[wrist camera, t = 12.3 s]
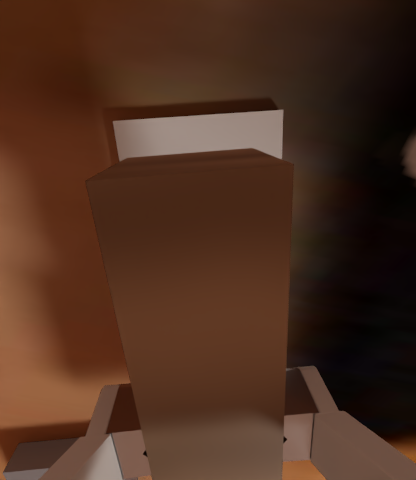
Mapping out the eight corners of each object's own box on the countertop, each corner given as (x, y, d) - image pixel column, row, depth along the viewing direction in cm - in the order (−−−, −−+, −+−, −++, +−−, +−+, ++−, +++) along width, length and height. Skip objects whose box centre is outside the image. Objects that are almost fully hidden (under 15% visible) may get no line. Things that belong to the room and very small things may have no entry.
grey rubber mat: (279, 110, 14) (283, 109, 14) (273, 364, 20) (275, 371, 20) (115, 121, 14) (112, 120, 14) (157, 374, 20) (156, 381, 20)
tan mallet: (63, 162, 8) (-23, 189, 5) (314, 143, 8) (394, 156, 5) (164, 569, 16) (157, 681, 13) (289, 555, 16) (313, 661, 13)
